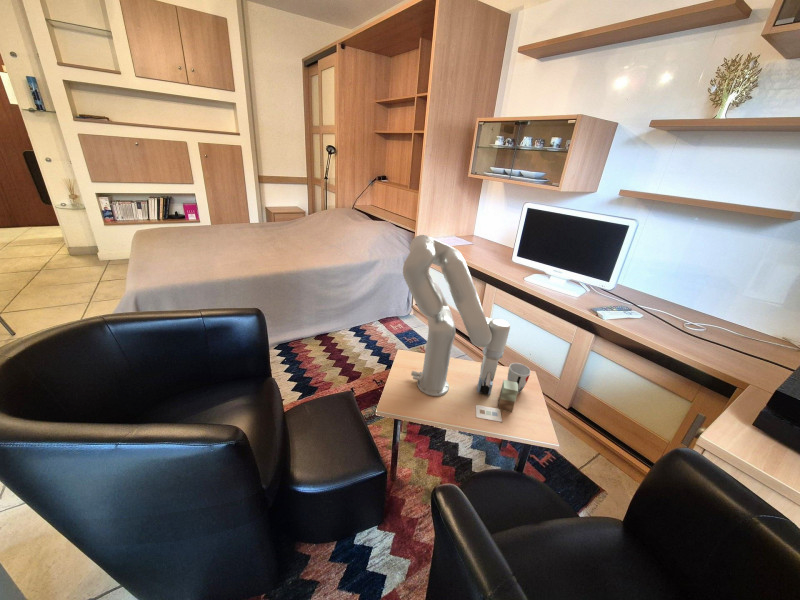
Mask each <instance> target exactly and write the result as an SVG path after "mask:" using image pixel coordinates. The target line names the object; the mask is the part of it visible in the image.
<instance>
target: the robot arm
mask: <svg viewBox="0 0 800 600" xmlns="http://www.w3.org/2000/svg"><path fill="white" fill-rule="evenodd" d="M432 265H435V266H437V267H440V269H441V272H442V275H443V277H444V280H445V282H446V284H447V287H448V290H449V292H450V295H451V298H452V300H453V302H454V305H455V307H456V309H457V311H458V313H459V315H460V318H461V320H462V322H463V325H464V328H465V330H466V332H467V335H468V337H469V339H470V342H471V343H472V345H474V346H476V347H478V348H482V354H483V358H482V362H481V364H480V373H479V377H480V379H483V383H482V384H481V388H480V393H479V394H483V395H487V394H488V392H489V388H490V382H492V381H494V378H495V376H496V372H497V367H498V365H499V360H501V359H502V358H503V356H504V353H505V349H506V345H507V340H508V338H509V335H510V334H509V333H510V329H511V325H510V323H509V322H508V321H507V320H505V319H503V318H502V319H501V318H491V317H486V315H485V313H484V312H485V311H484V310H483V307H482V303H481V300H480V297H479V294H478V291H477V289H476V288H477V287H476V286H475V284H474V280H473V277H472V275H471V272H470V270H469V267H468V264H467V261H466V259H465V258H464V256H463V254H462V252H461V251H460V250H459V249H457V248H455V247H453V246H451V245H449V244H447V243H444V242H442V241H439V240H437V239H436V238H434V237H431V236H429V235H425V234H419V235H417V236H415V237H414V238H412V240H411V241H410V244H409V254H408V255H407V257H406V259H405V261H404V262H403V266H402V274H403V279H404V281H405V284H406V286H407V287H408V289H409V292H410V294H411V296H412V297H413V300H414V303H415V304H416V306H417V309H418V310H419V312H421V314H423V315H424V316H425V317H426V318H427V325H428V327H427V328H428V332H427V333H428V334H427V339H426V340H427V341H426V344H425V351H424V353H425V354H424V360H423V368H422V371H415V370H412V371H411V376H412V380H415V381H417V382H416V385H417V388H418V390H419V391H420V392H422V393H423V394H425V395H427V396H431V397H440V396H444V395H445V394H446V393H448V391H449V388H450V385H449V382H448V380H447V377H448V372H449V371H448V370H449V365H450V359H451V354H452V349H453V345H454V344H453V343H454V340H455V337H456V324H455V320H454V317H453V314H452V313H453V312H452V311H451V308H450V307H449V306H450V305H449V304H448V302H447V300H446V297H445V296H444V294H443V292H442V289H441V288H440V286H439V284H437V283H436V282H434V281H433V279H432V277H431V275H430V272H429V271H430V270H429V269H430V267H431V266H432ZM485 377H487V378H485ZM485 380H486V382H485ZM484 382H485V383H484Z"/></svg>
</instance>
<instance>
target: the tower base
mask: <svg viewBox="0 0 800 600" xmlns="http://www.w3.org/2000/svg"><path fill="white" fill-rule="evenodd" d="M501 384H502V385H501V389H500V392H499V395H498V398H497V399H498V400H497V409H500V411H505V412H507V413H513V410H514V407H515V403H516V401H517V397H518V394H519V393H518V383H517V382H512V381H508V379H503V381H502V383H501Z"/></svg>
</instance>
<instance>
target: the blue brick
mask: <svg viewBox="0 0 800 600" xmlns="http://www.w3.org/2000/svg"><path fill="white" fill-rule="evenodd" d="M485 378H487V377H485ZM493 381H494V380H493ZM493 381H492V382H490V388H489V392H488V394H486V395H488V396H491V392H492V390H493V383H494V382H493ZM485 382H486V380H485ZM485 382H484V383H485ZM482 383H483V379H480V376H479V377H478V381H477V389H476V390H477V391H476V392H477V393H479V394H481V393H480V388H481V384H482Z"/></svg>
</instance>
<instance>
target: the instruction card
mask: <svg viewBox="0 0 800 600" xmlns="http://www.w3.org/2000/svg"><path fill="white" fill-rule="evenodd" d="M501 411H502V410H500V409H498V408H495V407H490V406H484V405H479V404H475V418H478V419H483V420H489V421H493V422H499V423H503V419H502V414H501Z"/></svg>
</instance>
